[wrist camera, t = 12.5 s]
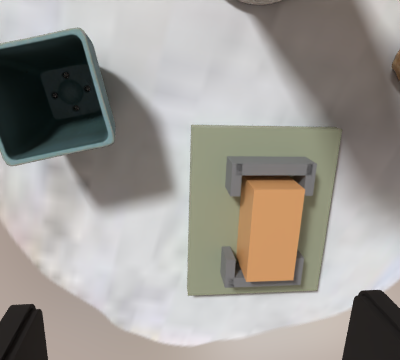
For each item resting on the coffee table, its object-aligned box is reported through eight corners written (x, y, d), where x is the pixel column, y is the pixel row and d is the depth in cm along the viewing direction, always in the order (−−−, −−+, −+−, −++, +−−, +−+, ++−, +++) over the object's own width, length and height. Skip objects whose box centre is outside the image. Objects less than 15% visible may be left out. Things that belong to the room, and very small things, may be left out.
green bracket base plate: (191, 124, 37) (195, 132, 33) (335, 127, 39) (357, 134, 34) (187, 288, 43) (190, 312, 39) (312, 283, 45) (328, 306, 40)
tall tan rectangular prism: (242, 174, 38) (254, 189, 33) (287, 174, 38) (305, 189, 33) (236, 256, 41) (246, 281, 36) (277, 255, 41) (293, 280, 36)
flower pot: (42, 144, 36) (5, 168, 27) (10, 55, 33) (-42, 50, 24) (126, 126, 36) (116, 144, 28) (102, 36, 33) (82, 25, 25)
